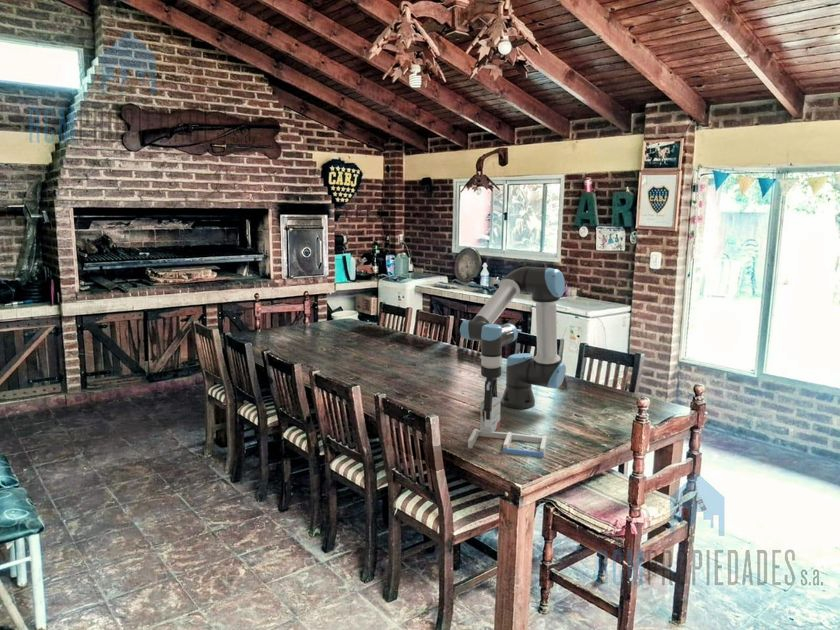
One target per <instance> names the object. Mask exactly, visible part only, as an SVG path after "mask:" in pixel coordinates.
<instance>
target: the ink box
mask: <svg viewBox="0 0 840 630" xmlns="http://www.w3.org/2000/svg"><path fill="white" fill-rule="evenodd" d="M501 400H502V397H498V396H497V397H493V398H492V428H491V427H484V424H485V411H483V409H484V400H483V401H481V402H480V419H479V421H480V424H479V425H480V426H479V427H480V428H479V430H480V431H481V432H486V433H490V434H491V433H493V432H494V431H495V432H496V430H497V429H499V428H500V427H501Z"/></svg>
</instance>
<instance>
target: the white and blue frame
mask: <svg viewBox="0 0 840 630" xmlns="http://www.w3.org/2000/svg"><path fill="white" fill-rule="evenodd" d="M479 437H484V438H492V439H493V438H494V439H495V438H496V439H502V440H503V439H504V442H503V447H502V453H503V454H510V455H511V454H512V455H519V456H520V455H522V456H532V457H538V458H539V457H540V458H545V453H546V447H547V442H548V436H547V435H531V434H522V433H513V432H512V431H508V432H504V431H496V430H495V431H494V432H493V433H491V434H490V433H486V432H481V431H480V429H479V428H473V431H472V432H471V434H470V436H469V438H468V440H467V448H468V449H473V447H474V445H475V443H476V441H477V439H478V438H479ZM512 441H525V442H530V443H531V442H533V443H540V446H539V451H535V450H527V449H517V448H510V445H511V443H512Z"/></svg>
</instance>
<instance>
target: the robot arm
mask: <svg viewBox="0 0 840 630" xmlns="http://www.w3.org/2000/svg"><path fill="white" fill-rule="evenodd" d="M565 288H566V281H565V277H564V275H563V273H562V271H560V269H557V268H552V267H539V266H537V267H535V266H523V267H522V266H521V267H519V268H517V269H515V270H512V271H511V272H510V273H508V274H507V275H506V276H504V278H503V279H502V280H501V281H500V282H499V285H498V288H497V290H496V291H494V293H493V294H492V295H491V297H490V298H489V300H488V301H486V303H485V304H484V305H483V307H481V309H480V310H479V311H478V312H477V313H476V315H475V316H474V317H473V319H472V320H471V319H465V320H463V321H462V322H461V324H460V327H459V333H460V336H461V337H462V338H463V339H466V340H470V341H476V342H481V346H480V347H481V355H480V356H479V359H480V360H481V366H480V375H481V376H482V378H486V380H485V382H484V398H483V401H484V409H483V411H485V424H484V427H491V428H492V398H493V397H498V383H497V382H498V378H500V377H501V376H502V366H501V365H502V357H503V356H502V349H503V348H502V347H505V346H507V345H509V344H511V343H513V342H514V341H516V340H517V339H518V336H519V335H518V334H519V332H518V329H517V327H516V326H515V324H513V323H504V324H498V323H495V322H496V321H497V320H498V318H499V317H500V316H501V315H502V313H503V312H504V311H505V309H506V308H508V306H509V305H510V304H511V302H512V301H513V300H514V299H517V298H518V297H519V296H520V295H522V294H528V295H531V299H532V301H533V302H534V303H535V317H536V318H535V323H536V325H535V326H536V355H533V354H532V353H526V352H525V353H514V354H511V355H509V356H508V357H507V358H506V363H505V364H506V368H505V369H506V370H505V388H504V391H503V393H502V397H501V405H503V406H505V407H508V408H512V409H521V410H522V409H530V408H533V407H534V406H535V405H536V398H535V396H534V392H533V388H532V385H533V386H538V387H541V388H542V387H543V388H547V389H557V388H560V386H561V385H562V384H563V381H564V380H565V377H566V372H567V371H566V370H567V366H566V364H565V363H563V362H562V361H561V356H560V355H559V354H558V340H557V339H558V338H557V337H558V335H557V334H558V333H557V331H558V330H557V303H558V302H559V301H560V299H561V297H562V296H563V295H564V293H565Z"/></svg>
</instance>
